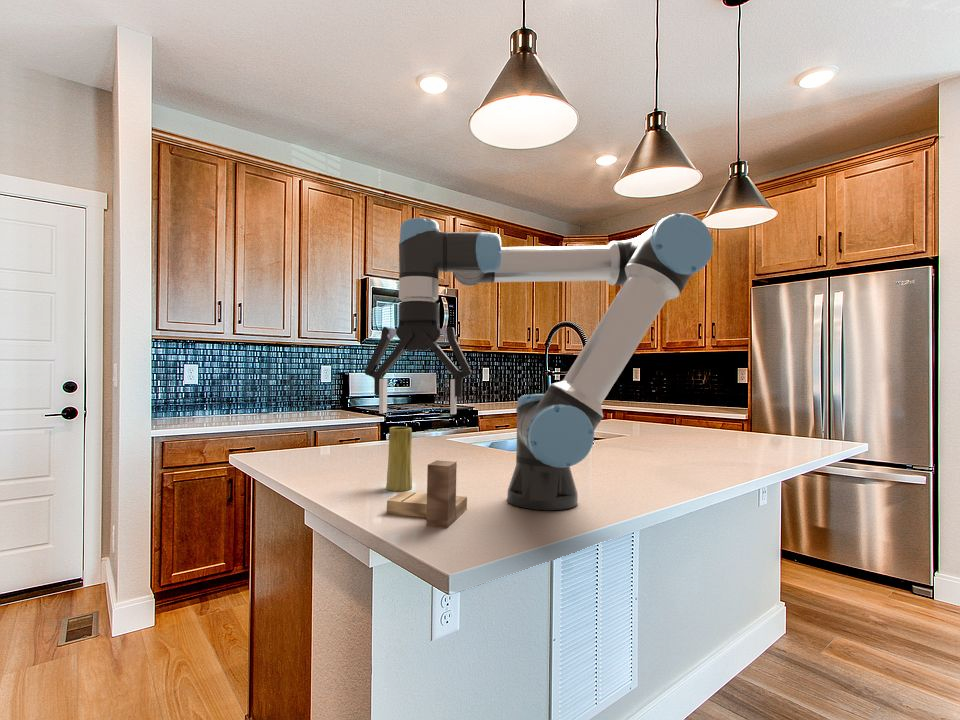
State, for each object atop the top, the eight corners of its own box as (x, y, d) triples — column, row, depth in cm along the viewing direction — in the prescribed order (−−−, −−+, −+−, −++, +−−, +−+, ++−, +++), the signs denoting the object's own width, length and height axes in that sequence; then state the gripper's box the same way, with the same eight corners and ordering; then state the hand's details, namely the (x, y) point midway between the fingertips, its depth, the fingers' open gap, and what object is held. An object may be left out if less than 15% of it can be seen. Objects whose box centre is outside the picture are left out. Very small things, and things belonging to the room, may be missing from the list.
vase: (405, 492, 120) (407, 429, 120) (381, 490, 122) (382, 428, 122) (416, 486, 126) (417, 427, 126) (392, 484, 128) (394, 426, 128)
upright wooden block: (462, 513, 103) (463, 457, 104) (447, 528, 94) (448, 466, 94) (442, 512, 104) (444, 456, 104) (426, 526, 95) (427, 464, 95)
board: (466, 509, 107) (467, 496, 107) (455, 519, 99) (456, 506, 99) (402, 503, 110) (402, 491, 110) (386, 513, 102) (386, 500, 102)
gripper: (485, 303, 103) (485, 412, 102) (361, 305, 105) (360, 411, 105) (481, 298, 95) (481, 415, 95) (348, 300, 98) (347, 414, 97)
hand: (418, 413), depth 100 cm, fingers open, 13 cm apart
